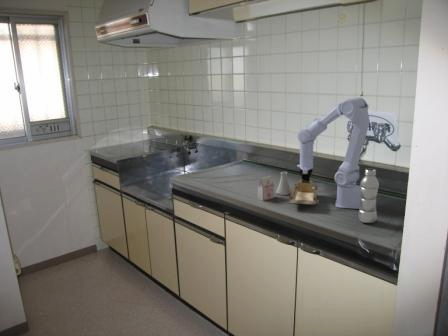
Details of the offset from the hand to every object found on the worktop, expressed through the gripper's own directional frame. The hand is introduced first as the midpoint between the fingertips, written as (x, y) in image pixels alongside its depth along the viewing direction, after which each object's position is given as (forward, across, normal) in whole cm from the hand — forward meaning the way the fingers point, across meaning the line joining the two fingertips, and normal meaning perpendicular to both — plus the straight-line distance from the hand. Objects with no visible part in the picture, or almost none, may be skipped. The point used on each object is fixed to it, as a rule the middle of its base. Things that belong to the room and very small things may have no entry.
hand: (305, 185), depth 171 cm
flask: (+5, -1, -10) cm, 11 cm away
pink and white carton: (+5, +8, -17) cm, 19 cm away
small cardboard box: (+2, +10, 0) cm, 10 cm away
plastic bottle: (+5, +28, +24) cm, 37 cm away
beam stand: (+5, +10, 0) cm, 11 cm away
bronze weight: (+1, +4, 0) cm, 4 cm away
